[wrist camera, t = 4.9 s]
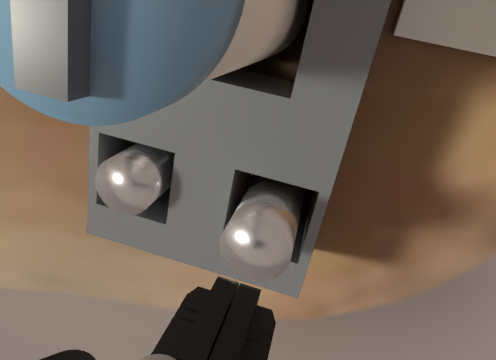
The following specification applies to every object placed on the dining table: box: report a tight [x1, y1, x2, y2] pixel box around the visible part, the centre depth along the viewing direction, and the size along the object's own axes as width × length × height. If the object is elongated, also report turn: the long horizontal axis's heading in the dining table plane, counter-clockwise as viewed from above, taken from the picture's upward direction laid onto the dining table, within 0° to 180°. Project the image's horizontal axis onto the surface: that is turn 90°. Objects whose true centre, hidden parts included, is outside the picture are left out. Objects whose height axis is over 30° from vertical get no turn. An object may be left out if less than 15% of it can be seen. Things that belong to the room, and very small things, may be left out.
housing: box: [87, 0, 391, 298], centre depth 19 cm, size 18×12×5 cm, turn 169°
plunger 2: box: [219, 176, 304, 282], centre depth 18 cm, size 3×3×6 cm
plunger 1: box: [95, 143, 175, 215], centre depth 21 cm, size 3×3×6 cm
